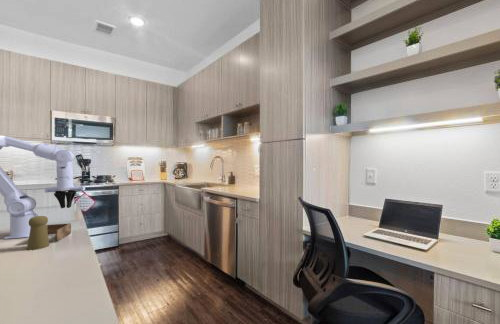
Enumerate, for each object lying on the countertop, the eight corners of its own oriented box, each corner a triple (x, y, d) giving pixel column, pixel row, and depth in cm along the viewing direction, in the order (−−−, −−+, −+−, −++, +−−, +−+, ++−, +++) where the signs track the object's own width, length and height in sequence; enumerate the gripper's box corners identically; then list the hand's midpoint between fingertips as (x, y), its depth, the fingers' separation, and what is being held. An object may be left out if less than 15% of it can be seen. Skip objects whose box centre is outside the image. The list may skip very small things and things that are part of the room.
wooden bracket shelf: (46, 235, 98) (46, 224, 98) (71, 233, 100) (71, 223, 100) (29, 244, 87) (29, 232, 87) (57, 241, 89) (57, 230, 89)
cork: (36, 250, 81) (35, 218, 81) (22, 249, 82) (22, 218, 82) (53, 244, 87) (53, 215, 87) (40, 243, 88) (40, 214, 88)
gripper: (87, 175, 109) (88, 204, 109) (50, 177, 106) (51, 207, 106) (80, 176, 103) (81, 207, 103) (41, 178, 99) (42, 210, 99)
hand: (66, 207), depth 104 cm, fingers closed
